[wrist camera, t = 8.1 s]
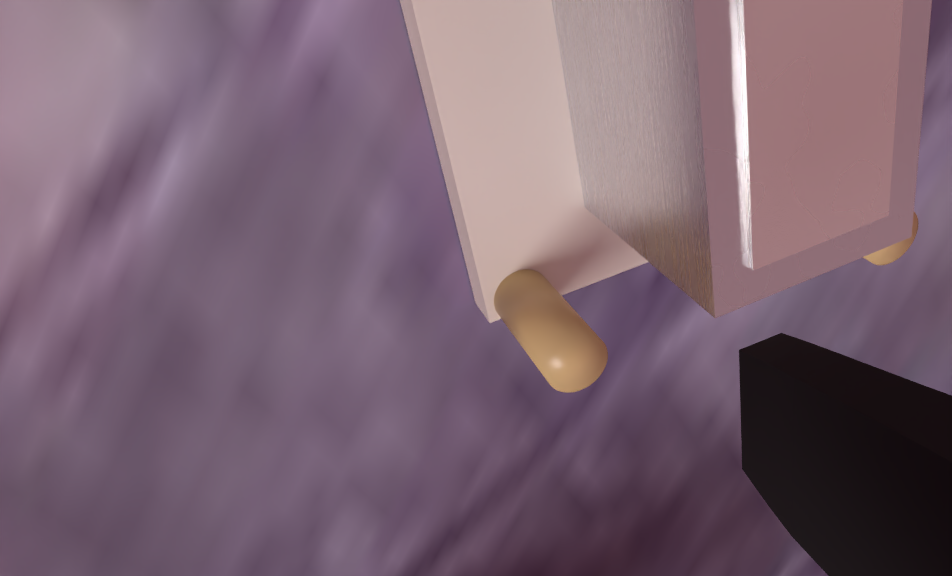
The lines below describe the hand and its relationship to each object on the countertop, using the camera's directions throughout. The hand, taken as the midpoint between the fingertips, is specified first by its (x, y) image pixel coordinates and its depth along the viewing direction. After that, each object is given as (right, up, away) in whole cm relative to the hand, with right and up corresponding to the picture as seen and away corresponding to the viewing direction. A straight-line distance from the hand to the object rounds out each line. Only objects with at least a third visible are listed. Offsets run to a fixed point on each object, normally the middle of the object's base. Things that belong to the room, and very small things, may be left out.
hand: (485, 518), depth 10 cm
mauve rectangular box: (+3, +9, +7) cm, 12 cm away
